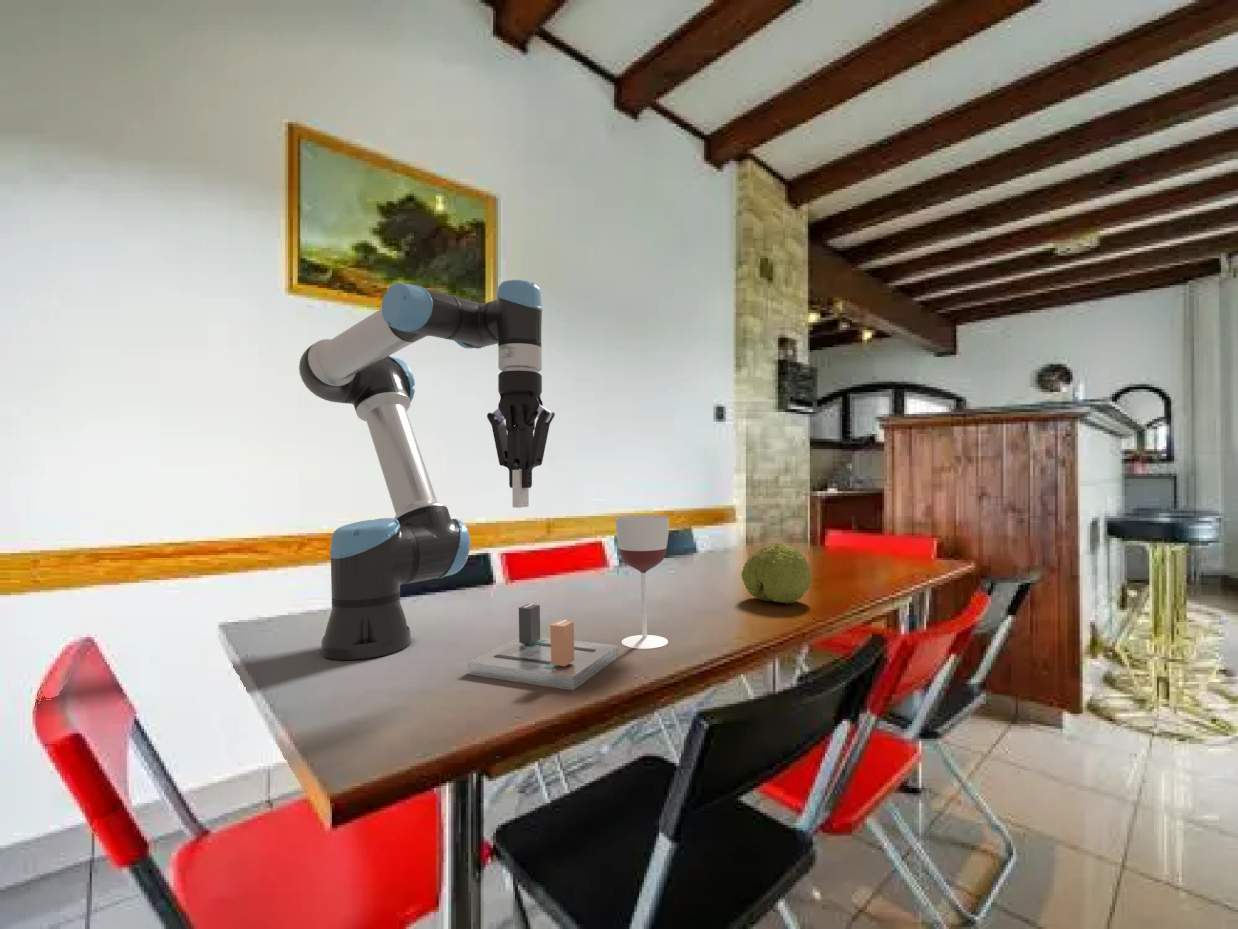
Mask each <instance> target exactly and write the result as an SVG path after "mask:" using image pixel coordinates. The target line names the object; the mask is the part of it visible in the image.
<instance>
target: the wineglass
mask: <svg viewBox="0 0 1238 929" xmlns="http://www.w3.org/2000/svg"><path fill="white" fill-rule="evenodd" d="M669 530H670V517H669V516H664V515H627V516H626V515H625V516H618V517H615V532H616V539H617V544H618V545H617V546H618V550H619V555H620V556H621V560H622V561H623V562H624V563H625V564H627V565H628V566H630V567H631V568H632V569H635V570H637V571H638V572H640V586H641V587H640V588H641V595H640V596H641V634H637V635H631V636H628V637H624V638H623V639H622V640H621V644H622V645H623V646H625V647H629V648H632V649H640V650H643V649H645V650H646V649H647V650H648V649H657V648H660V647H661V648H662V647H664V646H666V645H667V644H669V641H668V639H667V638H665V637H662V636H660V635H655V634H654V635H653V634H652V635H651V634H648V628H647V627H648V625H647V624H648V620H647V619H648V618H647V580H646V579H647V576H646V573H647V572H648V571H649V570H651V569H653V568H655V567H656V566H658V565H659V564H660V563H661V562H662V561H663V560H664V558H665V556H666V555H667V554H666V552H667V547H668V541H669V534H670V533H669V532H670V531H669Z"/></svg>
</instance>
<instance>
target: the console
mask: <svg viewBox="0 0 1238 929" xmlns="http://www.w3.org/2000/svg"><path fill="white" fill-rule="evenodd" d="M617 658H619V645H616V644H608V643H601V642H600V643H599V642H590V641H582V640H574V661H572V662H571V663H569V664H568V665H566V666H559V665H552V664H551V637H545V636H540V640H538V641H536V642H534V643H532V644H527V643H519V636H518V637H516V638H514V639H512V640H510V641H507V642H506V643H504V644H502V645H499V646H497V647H496V648H493V649H491V650H489V651H488V652H485V653H483V654H480V655H479V656H477V657H475V658H473V659H470V660H468V661H467V662H466V663H467V675H469V676H474V677H475V676H476V677H483V678H488V679H496V680H501V681H502V680H503V681H509V682H514V683H522V684H528V685H533V686H541V687H547V688H555V689H561V690H565V691H568V690H569V691H575V690H576V689H578V688H579V687H581V686H582V685H583V684H584V683H586V682H587V681H588V680H590V679H591V678H593V677H594V676H595V675H596V674H597V673H599V672H600V671H601V670H603V669H604V668H606V667H607V666H608V665H610V664H612V662H614V661H615V660H617Z"/></svg>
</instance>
